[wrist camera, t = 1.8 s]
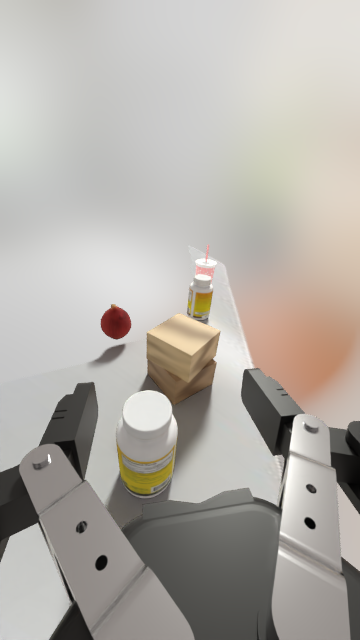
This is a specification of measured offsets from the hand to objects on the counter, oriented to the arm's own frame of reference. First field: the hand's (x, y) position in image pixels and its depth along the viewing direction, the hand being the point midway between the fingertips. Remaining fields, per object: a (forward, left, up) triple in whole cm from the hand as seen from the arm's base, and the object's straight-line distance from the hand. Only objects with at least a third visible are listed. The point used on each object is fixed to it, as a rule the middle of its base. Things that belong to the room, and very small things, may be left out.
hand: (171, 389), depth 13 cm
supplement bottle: (+25, +36, -20) cm, 48 cm away
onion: (+4, +33, -20) cm, 39 cm away
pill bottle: (+1, +6, -20) cm, 21 cm away
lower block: (+11, +18, -20) cm, 29 cm away
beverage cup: (+34, +49, -20) cm, 63 cm away
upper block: (+11, +18, -15) cm, 26 cm away
